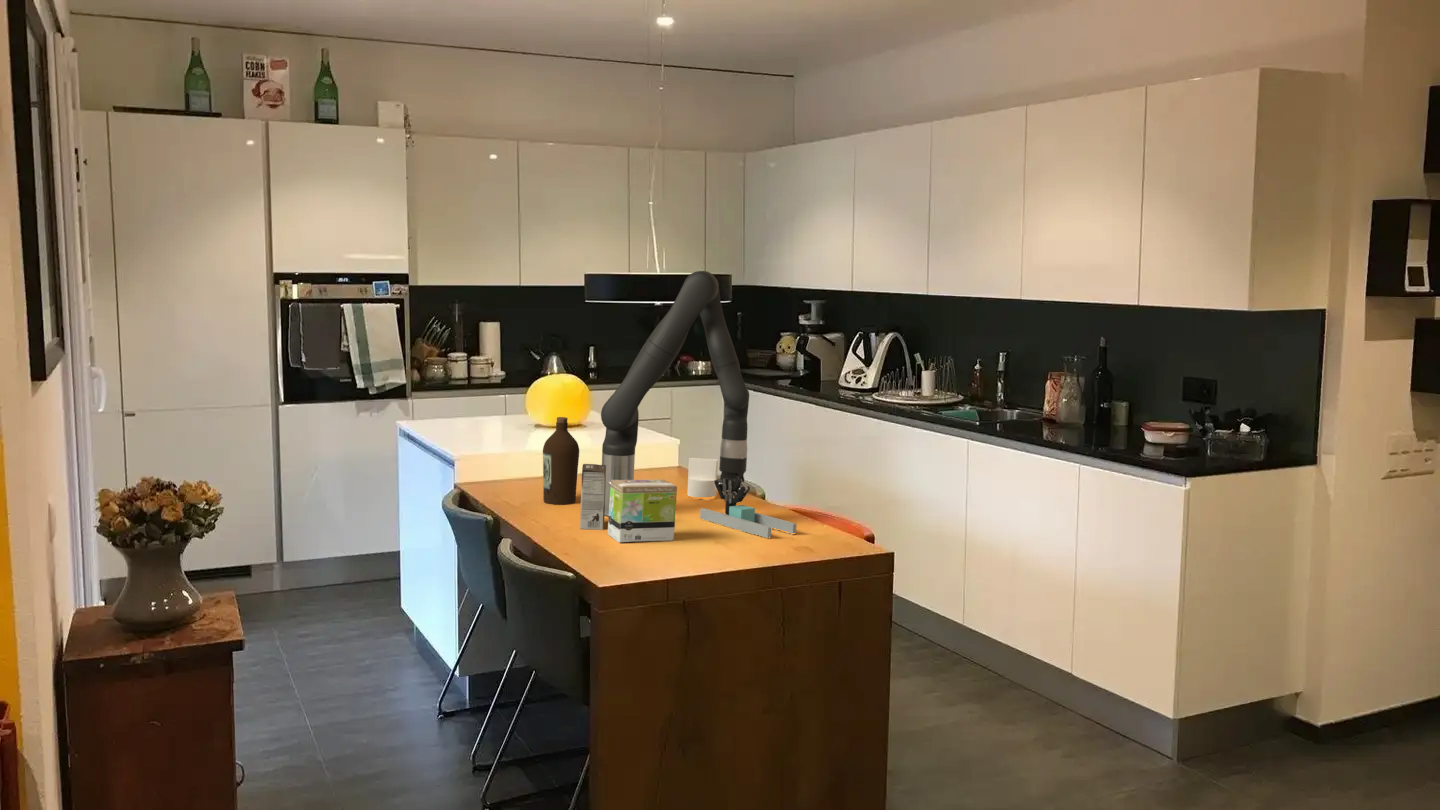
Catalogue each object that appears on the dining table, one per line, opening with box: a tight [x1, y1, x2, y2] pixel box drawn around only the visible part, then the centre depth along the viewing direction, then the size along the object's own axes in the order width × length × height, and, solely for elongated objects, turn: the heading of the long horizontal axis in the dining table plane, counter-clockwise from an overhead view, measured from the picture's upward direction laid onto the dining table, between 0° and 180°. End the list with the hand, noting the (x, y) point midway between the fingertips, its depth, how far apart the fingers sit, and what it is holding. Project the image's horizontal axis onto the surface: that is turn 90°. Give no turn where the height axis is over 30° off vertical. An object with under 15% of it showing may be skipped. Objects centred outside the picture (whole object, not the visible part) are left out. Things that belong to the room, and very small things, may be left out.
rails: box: [699, 505, 797, 539], centre depth 316 cm, size 10×28×3 cm, turn 40°
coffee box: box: [579, 463, 606, 531], centre depth 307 cm, size 9×6×16 cm
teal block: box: [729, 504, 756, 522], centre depth 317 cm, size 5×5×5 cm
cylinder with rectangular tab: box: [686, 457, 719, 497], centre depth 355 cm, size 9×9×12 cm
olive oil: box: [542, 416, 580, 506], centre depth 337 cm, size 11×11×25 cm
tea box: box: [607, 478, 678, 544], centre depth 295 cm, size 15×10×15 cm, turn 114°
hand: (730, 516), depth 321 cm, fingers closed
